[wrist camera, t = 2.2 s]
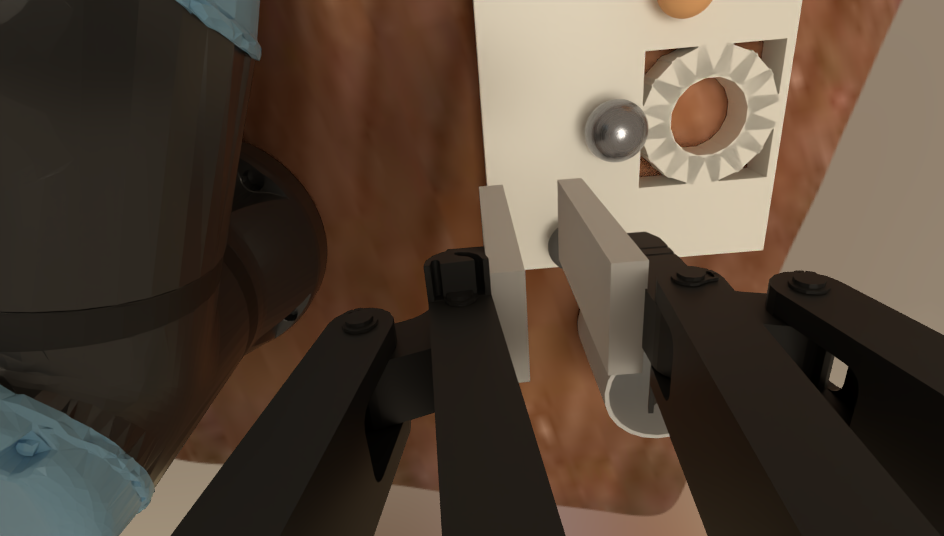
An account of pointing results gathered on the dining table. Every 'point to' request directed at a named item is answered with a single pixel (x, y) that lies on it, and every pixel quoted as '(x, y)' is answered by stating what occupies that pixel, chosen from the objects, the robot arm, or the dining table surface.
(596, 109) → the ball
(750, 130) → the board
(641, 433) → the cup
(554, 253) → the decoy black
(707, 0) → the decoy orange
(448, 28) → the dining table surface
